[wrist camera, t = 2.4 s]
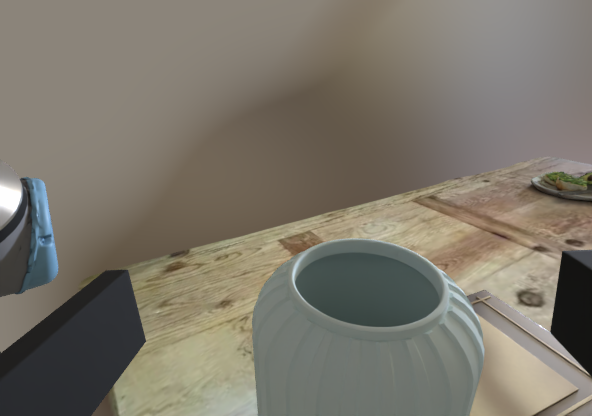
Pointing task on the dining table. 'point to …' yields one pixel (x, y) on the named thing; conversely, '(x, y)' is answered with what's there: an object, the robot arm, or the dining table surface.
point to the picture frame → (525, 367)
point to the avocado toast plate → (565, 185)
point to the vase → (364, 335)
